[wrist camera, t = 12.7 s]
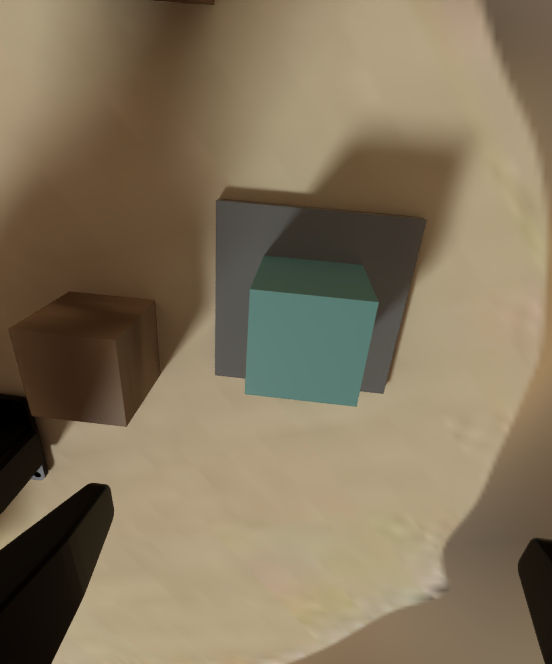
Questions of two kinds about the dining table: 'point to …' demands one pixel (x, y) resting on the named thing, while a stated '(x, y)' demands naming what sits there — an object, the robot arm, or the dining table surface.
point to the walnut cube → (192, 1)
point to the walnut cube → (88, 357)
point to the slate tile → (311, 244)
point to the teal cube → (309, 330)
